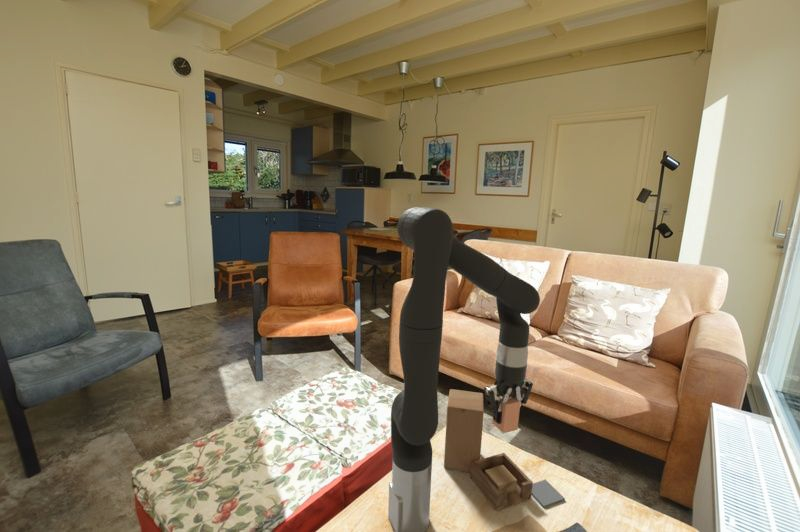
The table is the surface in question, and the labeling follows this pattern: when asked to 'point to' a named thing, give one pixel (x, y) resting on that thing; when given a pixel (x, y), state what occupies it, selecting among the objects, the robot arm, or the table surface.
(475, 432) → the wooden block
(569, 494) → the table surface
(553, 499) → the pad
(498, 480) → the crate
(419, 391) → the robot arm
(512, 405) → the block
